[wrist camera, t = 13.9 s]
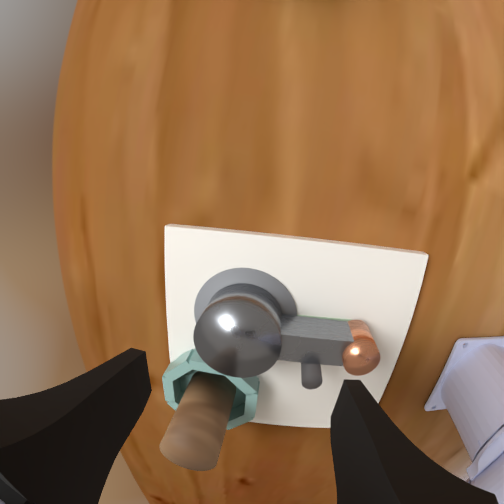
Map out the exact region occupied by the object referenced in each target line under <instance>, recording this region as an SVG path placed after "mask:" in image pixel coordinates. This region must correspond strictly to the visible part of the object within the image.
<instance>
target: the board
mask: <svg viewBox="0 0 504 504" xmlns="http://www.w3.org/2000/svg"><path fill="white" fill-rule="evenodd" d="M428 256H429V255H428V254H426V253H425V252H421V251H414V250H406V249H399V248H391V247H383V246H375V245H367V244H359V243H351V242H342V241H334V240H325V239H316V238H307V237H298V236H289V235H280V234H271V233H261V232H251V231H242V230H231V229H221V228H211V227H200V226H189V225H178V224H168V225H166V226H165V286H166V310H167V327H168V341H169V353H170V363H171V362H173V361H174V360H176V359H177V358H178V357H179V356H180V355H181V354H183V353H185V352H187V351H189V350H191V349H195V345H194V340H193V334H194V328H195V326H196V323H197V321H198V320H199V318H200V316H201V315H202V313H203V311H204V310H205V308H206V306H207V305H208V303H209V301H210V300H211V298H212V296H213V295H214V294H215V293H216V292H217V291H219V290H220V289H222V288H223V287H225V286H228V285H231V284H236V283H248V284H253V285H256V286H259V287H261V288H263V289H265V290H266V291H268V292H269V293H270V294H271V295H272V296H273V297H274V298H275V299H276V300H277V302H278V303H279V305H280V307H281V310H282V314H286V315H294V316H302V317H310V318H319V319H328V320H337V321H347V322H348V321H350V320H361V321H363V322H365V323H366V324H367V325H368V327H369V330H370V332H371V334H372V336H373V339H374V341H375V343H376V345H377V348H378V350H379V352H380V362H379V364H378V366H377V367H376V368H375V369H374V370H373V371H371V372H370V373H368V374H365V375H361V376H355V375H351V374H349V373H348V372H347V371H346V370H345V369H344V366H332V365H320V364H310V363H300V362H291V361H283V360H277V361H276V363H275V364H274V365H273V366H272V367H271V368H270V369H269V370H267V371H266V372H264V373H262V374H260V375H257V377H258V378H259V380H258V381H260V384H259V392H258V399H257V406H256V412H255V418H253V420H251V421H249V422H256V423H264V424H274V425H284V426H297V427H316V428H331V414H332V412H333V409H334V406H335V404H336V401H337V398H338V395H339V393H340V390H341V387H342V384H343V381H344V379H350V380H361V381H362V383H363V384H364V385H365V387H366V388H367V389H368V391H369V392H370V393H371V395H372V396H373V397H374V399H375V400H376V401H377V403H379V401H380V399H381V397H382V395H383V392H384V390H385V388H386V386H387V383H388V381H389V379H390V376H391V374H392V371H393V369H394V366H395V364H396V361H397V359H398V356H399V353H400V351H401V348H402V345H403V343H404V340H405V337H406V334H407V331H408V328H409V325H410V322H411V319H412V316H413V313H414V309H415V306H416V303H417V299H418V296H419V292H420V288H421V285H422V281H423V277H424V273H425V269H426V265H427V260H428Z"/></svg>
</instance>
